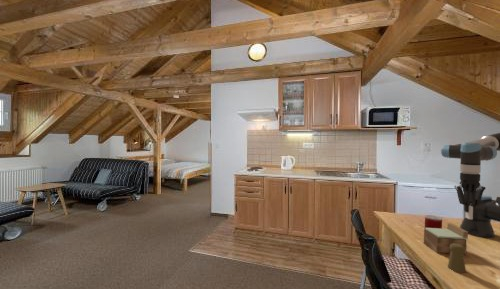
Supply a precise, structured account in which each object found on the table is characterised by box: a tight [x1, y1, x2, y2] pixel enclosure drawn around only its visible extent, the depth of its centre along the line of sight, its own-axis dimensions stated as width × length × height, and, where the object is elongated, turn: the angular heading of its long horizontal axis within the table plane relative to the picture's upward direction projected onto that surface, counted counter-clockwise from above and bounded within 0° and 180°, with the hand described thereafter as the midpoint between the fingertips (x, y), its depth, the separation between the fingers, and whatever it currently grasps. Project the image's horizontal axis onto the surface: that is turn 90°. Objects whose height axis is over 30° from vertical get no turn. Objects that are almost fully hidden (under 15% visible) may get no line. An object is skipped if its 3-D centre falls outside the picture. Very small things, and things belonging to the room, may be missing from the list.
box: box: [423, 229, 467, 256], centre depth 121 cm, size 13×11×8 cm
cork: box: [447, 243, 467, 274], centre depth 102 cm, size 6×6×11 cm
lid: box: [424, 222, 469, 240], centre depth 121 cm, size 13×11×4 cm
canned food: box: [424, 214, 443, 230], centre depth 138 cm, size 8×8×11 cm
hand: (468, 218), depth 119 cm, fingers closed
